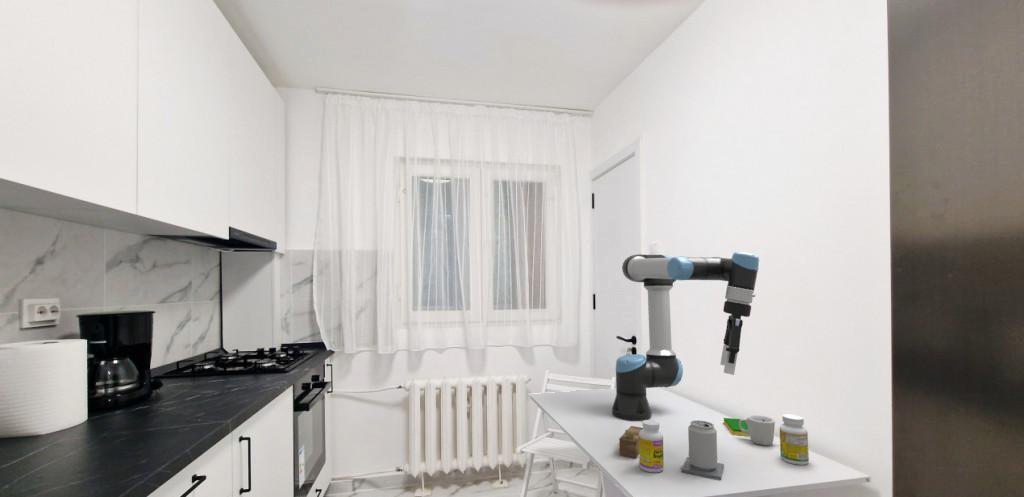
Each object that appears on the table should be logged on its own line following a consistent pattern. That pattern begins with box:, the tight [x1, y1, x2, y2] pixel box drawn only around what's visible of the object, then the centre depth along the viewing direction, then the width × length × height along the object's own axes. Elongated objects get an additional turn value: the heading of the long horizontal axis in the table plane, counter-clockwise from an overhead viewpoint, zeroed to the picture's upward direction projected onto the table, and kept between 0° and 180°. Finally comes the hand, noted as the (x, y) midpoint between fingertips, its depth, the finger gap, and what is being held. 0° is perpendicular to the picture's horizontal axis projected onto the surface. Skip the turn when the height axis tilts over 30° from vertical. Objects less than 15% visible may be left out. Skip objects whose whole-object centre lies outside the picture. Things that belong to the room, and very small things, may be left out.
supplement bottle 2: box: [779, 413, 810, 466], centre depth 132 cm, size 7×7×13 cm
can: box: [688, 420, 718, 471], centre depth 126 cm, size 8×8×12 cm
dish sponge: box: [723, 417, 750, 437], centre depth 160 cm, size 7×14×2 cm, turn 167°
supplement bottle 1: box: [638, 419, 664, 473], centre depth 126 cm, size 7×7×13 cm
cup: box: [739, 414, 776, 446], centre depth 147 cm, size 11×8×8 cm
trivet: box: [681, 456, 725, 481], centre depth 125 cm, size 10×10×1 cm
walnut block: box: [618, 425, 643, 460], centre depth 140 cm, size 14×5×7 cm, turn 150°
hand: (726, 369), depth 137 cm, fingers open, 13 cm apart
